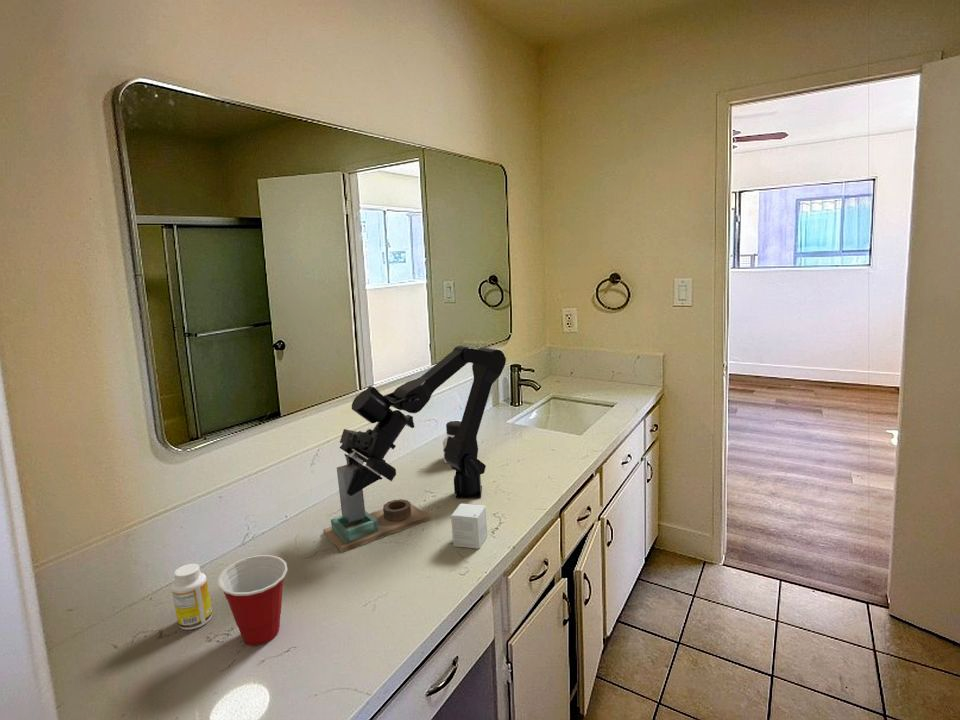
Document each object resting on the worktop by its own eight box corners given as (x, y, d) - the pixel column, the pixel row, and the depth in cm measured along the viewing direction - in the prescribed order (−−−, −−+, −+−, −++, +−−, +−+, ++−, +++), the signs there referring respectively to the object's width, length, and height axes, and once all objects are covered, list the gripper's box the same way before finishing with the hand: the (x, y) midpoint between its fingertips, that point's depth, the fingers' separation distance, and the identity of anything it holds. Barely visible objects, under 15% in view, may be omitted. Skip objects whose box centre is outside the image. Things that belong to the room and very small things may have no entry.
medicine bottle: (467, 463, 167) (464, 425, 164) (444, 463, 168) (441, 425, 166) (472, 455, 174) (469, 418, 171) (449, 454, 175) (447, 418, 173)
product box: (488, 535, 124) (486, 505, 122) (479, 550, 118) (477, 518, 117) (462, 532, 126) (460, 502, 124) (452, 546, 120) (450, 515, 119)
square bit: (358, 511, 130) (353, 462, 128) (365, 517, 127) (360, 467, 124) (342, 516, 128) (336, 467, 125) (349, 523, 124) (343, 472, 122)
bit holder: (407, 504, 142) (406, 491, 141) (429, 519, 133) (428, 505, 132) (323, 533, 129) (322, 519, 128) (342, 552, 120) (340, 537, 120)
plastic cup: (255, 666, 88) (244, 597, 85) (214, 644, 93) (203, 579, 91) (309, 625, 97) (300, 563, 94) (268, 607, 102) (260, 548, 100)
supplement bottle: (204, 607, 103) (196, 557, 102) (218, 618, 100) (210, 567, 98) (173, 623, 99) (163, 571, 97) (186, 636, 96) (176, 582, 94)
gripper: (343, 407, 132) (303, 463, 128) (378, 424, 117) (334, 488, 113) (376, 431, 138) (339, 485, 134) (413, 450, 123) (373, 511, 119)
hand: (345, 491), depth 125 cm, fingers closed on square bit, 4 cm apart
